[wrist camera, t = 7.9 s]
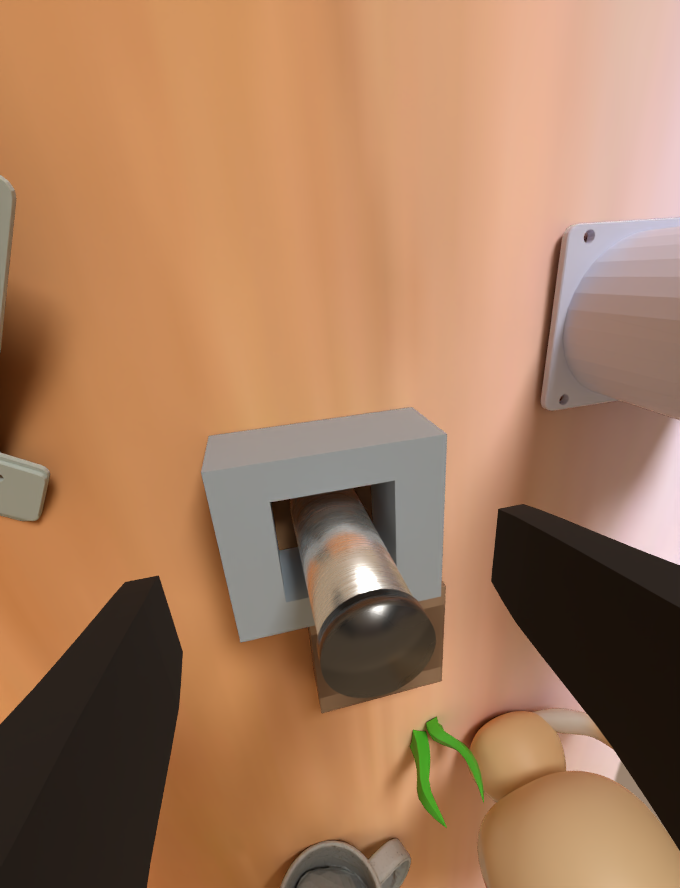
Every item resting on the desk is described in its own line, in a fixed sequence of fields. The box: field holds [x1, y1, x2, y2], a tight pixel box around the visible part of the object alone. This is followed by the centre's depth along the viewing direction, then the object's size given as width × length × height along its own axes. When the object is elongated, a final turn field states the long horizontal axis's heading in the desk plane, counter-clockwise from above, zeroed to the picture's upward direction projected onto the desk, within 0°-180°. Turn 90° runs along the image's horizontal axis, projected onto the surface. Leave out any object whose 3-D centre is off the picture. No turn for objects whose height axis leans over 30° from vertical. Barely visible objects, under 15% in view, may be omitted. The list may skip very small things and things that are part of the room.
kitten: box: [410, 708, 680, 888], centre depth 23 cm, size 15×10×15 cm, turn 79°
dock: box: [201, 407, 447, 642], centre depth 18 cm, size 9×8×4 cm
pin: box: [290, 488, 436, 698], centre depth 15 cm, size 3×3×9 cm
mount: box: [308, 581, 446, 713], centre depth 22 cm, size 7×7×2 cm
